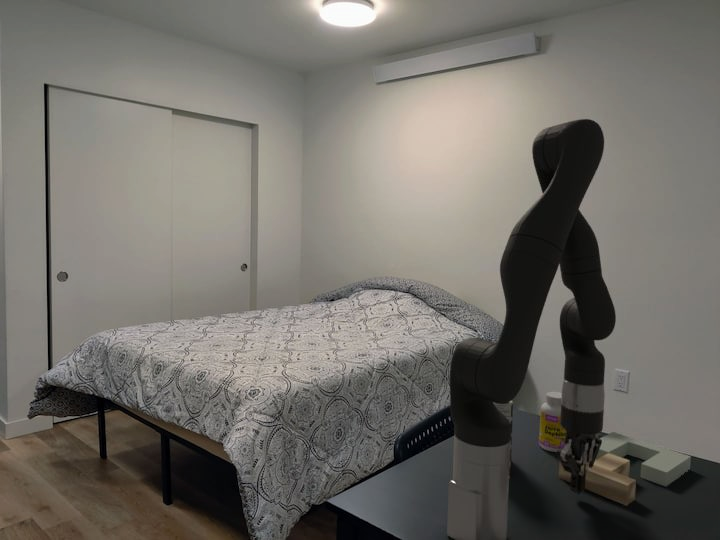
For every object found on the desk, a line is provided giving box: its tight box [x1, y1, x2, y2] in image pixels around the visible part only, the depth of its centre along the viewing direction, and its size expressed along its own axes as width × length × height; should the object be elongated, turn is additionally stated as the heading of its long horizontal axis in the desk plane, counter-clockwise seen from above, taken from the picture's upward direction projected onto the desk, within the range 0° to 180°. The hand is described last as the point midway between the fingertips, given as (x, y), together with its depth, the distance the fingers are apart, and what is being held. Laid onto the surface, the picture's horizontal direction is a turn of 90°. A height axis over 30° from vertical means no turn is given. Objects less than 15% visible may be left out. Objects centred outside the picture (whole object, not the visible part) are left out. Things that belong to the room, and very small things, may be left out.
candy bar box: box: [493, 399, 514, 479], centre depth 116 cm, size 11×5×16 cm, turn 168°
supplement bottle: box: [538, 391, 567, 453], centre depth 127 cm, size 7×7×13 cm
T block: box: [558, 453, 637, 507], centre depth 110 cm, size 12×14×4 cm
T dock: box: [595, 431, 692, 487], centre depth 120 cm, size 12×17×3 cm
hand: (577, 491), depth 104 cm, fingers closed
